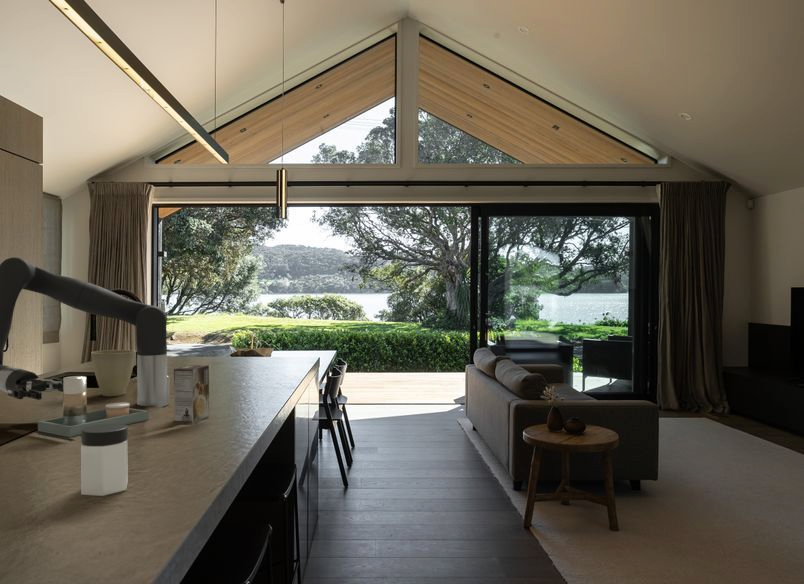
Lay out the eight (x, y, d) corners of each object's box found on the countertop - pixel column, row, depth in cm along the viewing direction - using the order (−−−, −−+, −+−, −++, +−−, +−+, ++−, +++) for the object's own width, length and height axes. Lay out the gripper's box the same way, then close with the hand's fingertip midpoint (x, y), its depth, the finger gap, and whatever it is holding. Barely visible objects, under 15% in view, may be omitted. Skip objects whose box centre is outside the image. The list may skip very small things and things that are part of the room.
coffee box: (190, 417, 189) (190, 364, 188) (209, 418, 187) (209, 365, 187) (173, 424, 180) (173, 368, 179) (193, 425, 178) (193, 369, 178)
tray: (117, 418, 188) (117, 406, 188) (148, 423, 181) (148, 411, 181) (38, 434, 167) (37, 421, 167) (69, 440, 160) (69, 427, 160)
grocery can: (78, 425, 173) (78, 375, 172) (91, 428, 170) (91, 377, 170) (58, 429, 168) (58, 378, 167) (71, 432, 165) (71, 379, 165)
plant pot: (124, 398, 222) (124, 353, 221) (83, 398, 222) (83, 353, 222) (142, 391, 236) (142, 349, 236) (104, 391, 237) (103, 349, 237)
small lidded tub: (120, 417, 184) (120, 401, 184) (134, 419, 181) (134, 403, 181) (100, 421, 179) (100, 405, 179) (115, 423, 176) (114, 407, 176)
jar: (118, 479, 127) (117, 421, 127) (137, 487, 122) (137, 426, 122) (72, 490, 121) (71, 428, 121) (90, 499, 115) (90, 435, 115)
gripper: (-8, 374, 176) (31, 385, 169) (40, 364, 189) (77, 374, 182) (-8, 399, 177) (30, 411, 170) (39, 388, 190) (76, 399, 183)
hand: (54, 392), depth 176 cm, fingers open, 8 cm apart
